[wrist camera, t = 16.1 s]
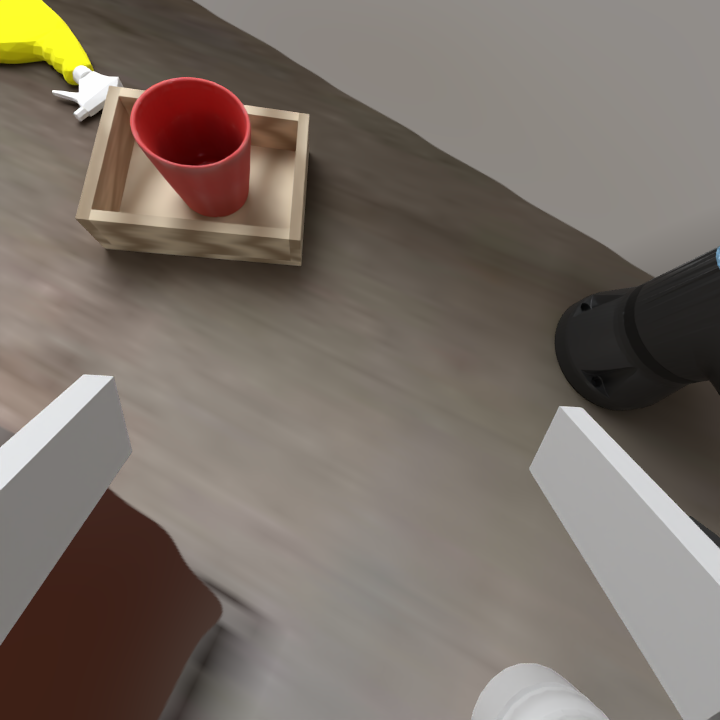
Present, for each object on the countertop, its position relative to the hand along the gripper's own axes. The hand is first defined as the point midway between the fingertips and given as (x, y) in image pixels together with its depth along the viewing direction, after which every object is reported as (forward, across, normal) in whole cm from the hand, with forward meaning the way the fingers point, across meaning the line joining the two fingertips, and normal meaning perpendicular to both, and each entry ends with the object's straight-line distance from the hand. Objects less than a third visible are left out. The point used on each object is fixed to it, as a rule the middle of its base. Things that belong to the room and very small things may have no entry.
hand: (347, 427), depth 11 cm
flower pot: (+40, -15, +2) cm, 43 cm away
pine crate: (+41, -15, +1) cm, 44 cm away
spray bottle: (+54, -40, +14) cm, 68 cm away
